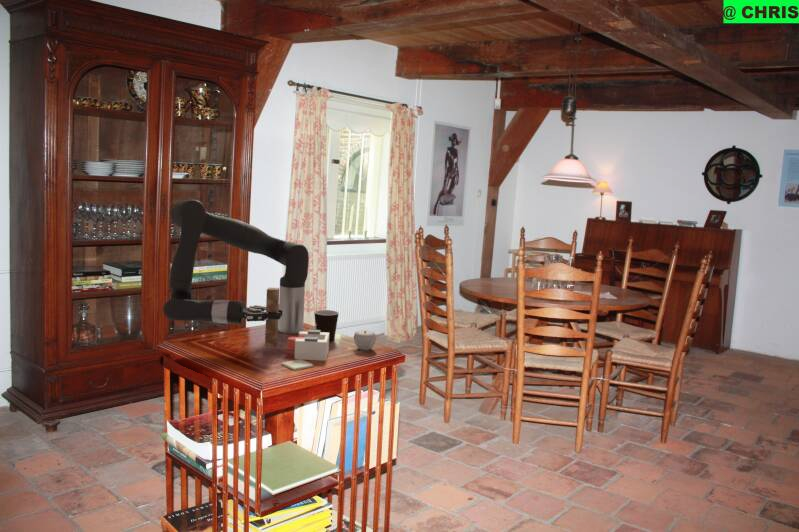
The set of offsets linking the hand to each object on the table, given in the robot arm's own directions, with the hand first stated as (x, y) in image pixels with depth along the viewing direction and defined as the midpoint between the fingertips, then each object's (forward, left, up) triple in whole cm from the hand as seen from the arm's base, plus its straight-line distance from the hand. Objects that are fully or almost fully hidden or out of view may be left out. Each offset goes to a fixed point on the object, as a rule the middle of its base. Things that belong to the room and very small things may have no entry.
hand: (281, 314), depth 213 cm
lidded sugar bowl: (+11, +27, -13) cm, 32 cm away
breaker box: (+7, +8, -13) cm, 17 cm away
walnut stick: (-2, -2, -10) cm, 11 cm away
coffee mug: (-7, +24, -13) cm, 28 cm away
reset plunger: (+4, +4, -11) cm, 13 cm away
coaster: (+15, -3, -13) cm, 20 cm away
